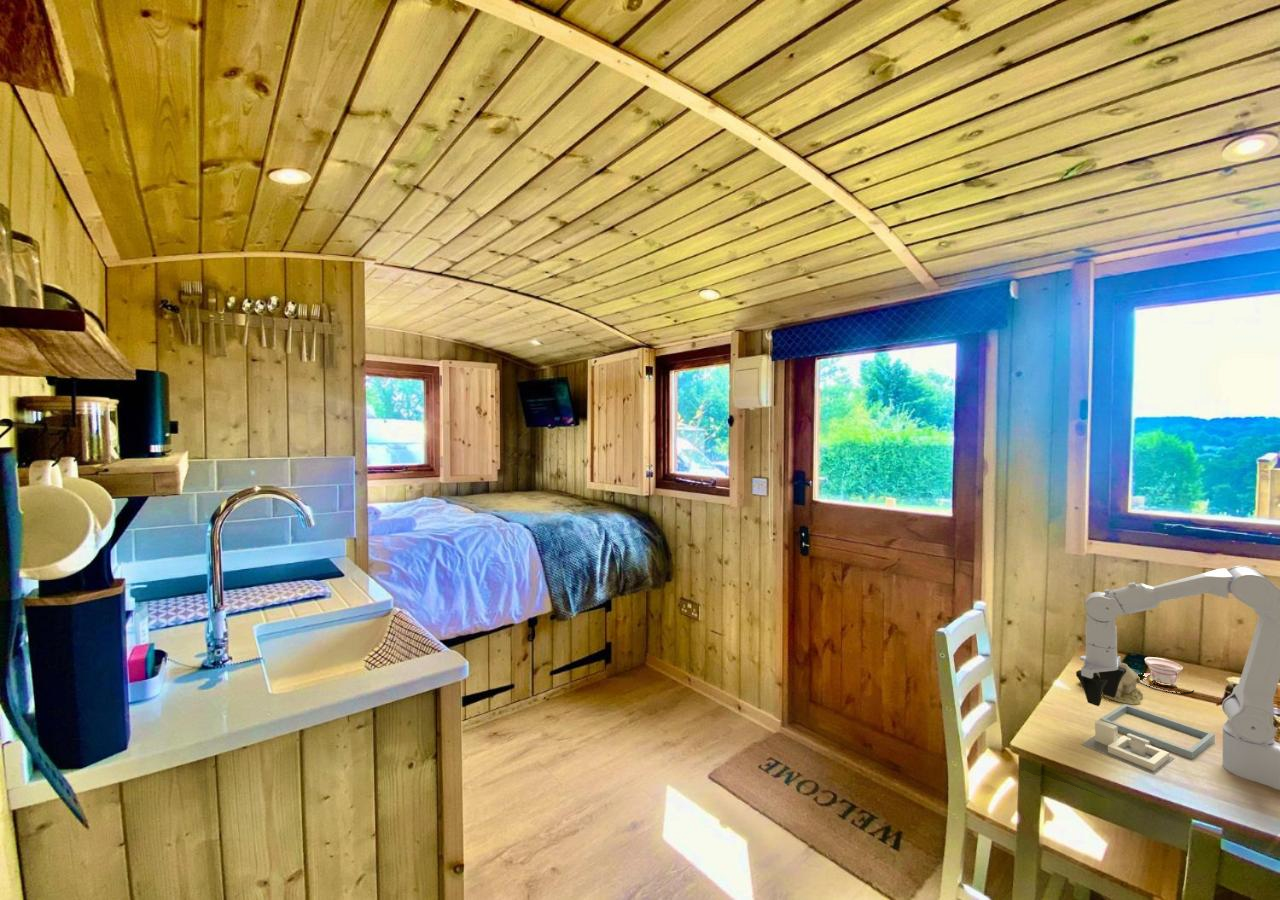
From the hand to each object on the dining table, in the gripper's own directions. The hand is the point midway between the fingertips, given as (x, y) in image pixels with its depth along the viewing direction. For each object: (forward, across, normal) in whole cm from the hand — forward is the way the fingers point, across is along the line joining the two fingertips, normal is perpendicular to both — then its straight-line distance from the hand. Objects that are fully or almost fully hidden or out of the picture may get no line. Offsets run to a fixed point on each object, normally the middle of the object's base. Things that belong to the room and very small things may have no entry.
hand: (1101, 699), depth 129 cm
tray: (+10, -12, +6) cm, 16 cm away
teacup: (+10, -48, -4) cm, 49 cm away
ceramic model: (+10, -30, -10) cm, 33 cm away
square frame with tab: (+9, +3, +6) cm, 11 cm away
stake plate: (+10, +3, +6) cm, 12 cm away
